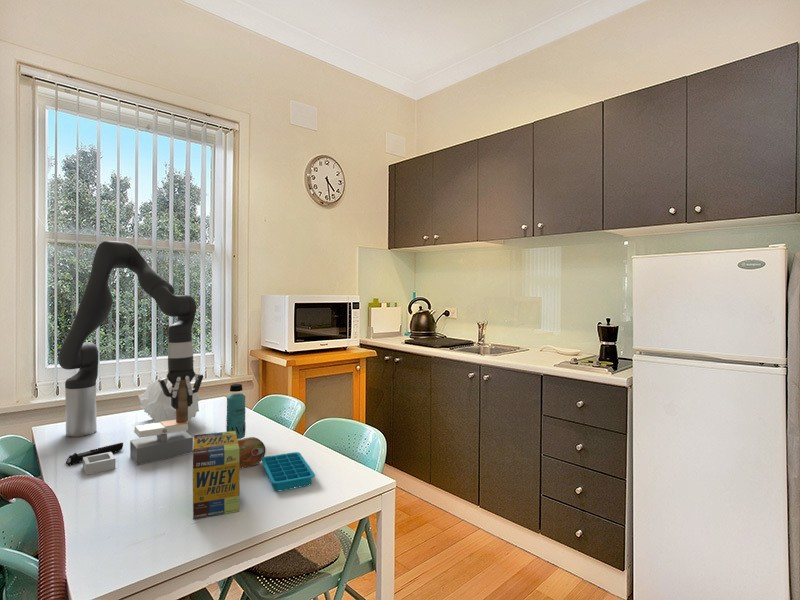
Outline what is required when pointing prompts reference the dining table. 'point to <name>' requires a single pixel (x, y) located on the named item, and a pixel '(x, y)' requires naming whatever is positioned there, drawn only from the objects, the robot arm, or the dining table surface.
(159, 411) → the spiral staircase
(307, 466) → the ice cube tray
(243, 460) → the tin
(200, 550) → the dining table surface
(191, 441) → the switch box
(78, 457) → the electric trimmer
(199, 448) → the protein box
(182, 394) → the wooden peg
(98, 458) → the holder
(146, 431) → the rocker switch
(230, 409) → the beverage bottle
